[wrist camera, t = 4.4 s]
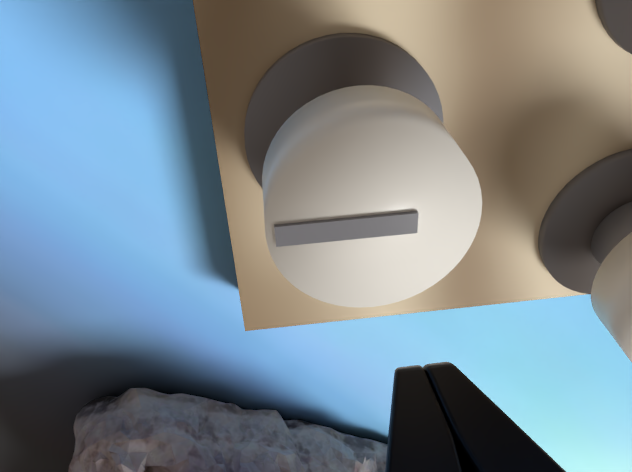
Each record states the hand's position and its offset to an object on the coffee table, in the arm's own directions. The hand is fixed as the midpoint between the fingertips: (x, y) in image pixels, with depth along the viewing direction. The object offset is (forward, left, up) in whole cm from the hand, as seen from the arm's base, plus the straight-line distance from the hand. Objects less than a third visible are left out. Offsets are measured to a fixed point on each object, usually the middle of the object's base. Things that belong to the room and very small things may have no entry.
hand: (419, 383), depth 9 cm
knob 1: (0, 0, -9) cm, 9 cm away
